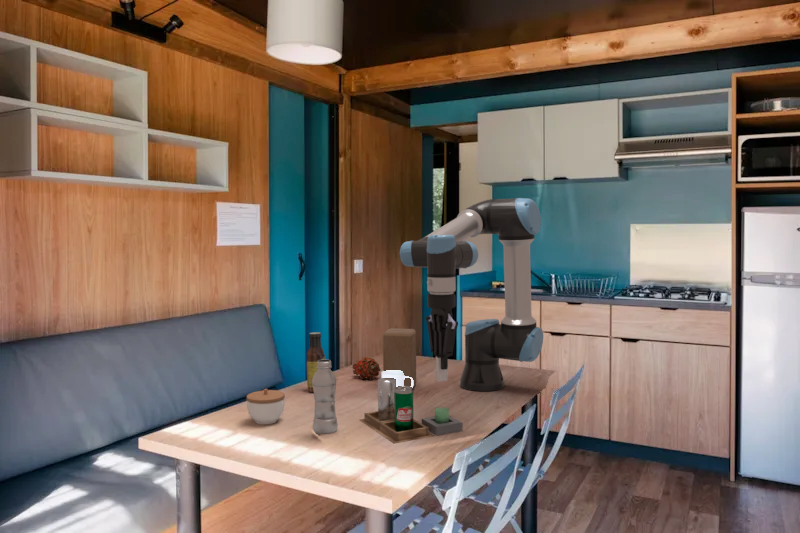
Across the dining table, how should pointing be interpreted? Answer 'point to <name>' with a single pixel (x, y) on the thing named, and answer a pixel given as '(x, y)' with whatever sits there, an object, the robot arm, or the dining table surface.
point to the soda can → (403, 408)
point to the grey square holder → (443, 426)
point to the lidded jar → (265, 406)
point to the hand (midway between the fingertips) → (441, 380)
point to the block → (400, 352)
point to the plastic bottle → (324, 399)
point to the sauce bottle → (313, 357)
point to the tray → (389, 433)
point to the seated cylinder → (386, 398)
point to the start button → (441, 415)
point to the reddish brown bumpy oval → (366, 368)
